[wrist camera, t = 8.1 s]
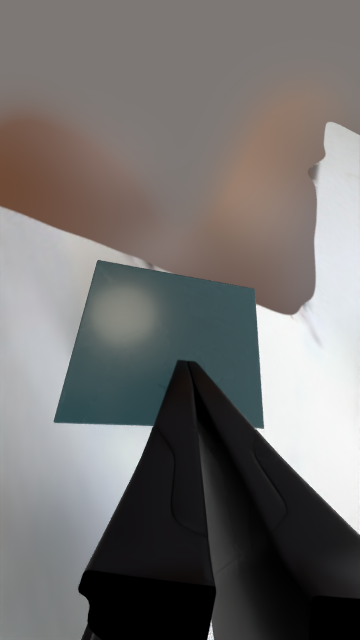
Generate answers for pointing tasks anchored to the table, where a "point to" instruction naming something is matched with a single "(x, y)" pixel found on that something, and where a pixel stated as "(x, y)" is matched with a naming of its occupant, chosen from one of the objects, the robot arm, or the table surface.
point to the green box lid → (158, 345)
